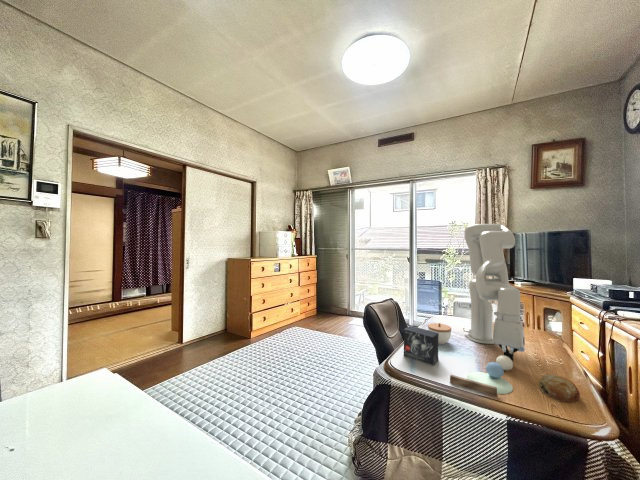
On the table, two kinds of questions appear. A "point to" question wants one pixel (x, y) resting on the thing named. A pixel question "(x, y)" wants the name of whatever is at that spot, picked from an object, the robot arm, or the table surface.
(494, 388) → the walnut rail
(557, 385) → the bread roll
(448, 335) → the lidded jar
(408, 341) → the small box
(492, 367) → the blue ball
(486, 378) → the mint mark
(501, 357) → the cue ball
